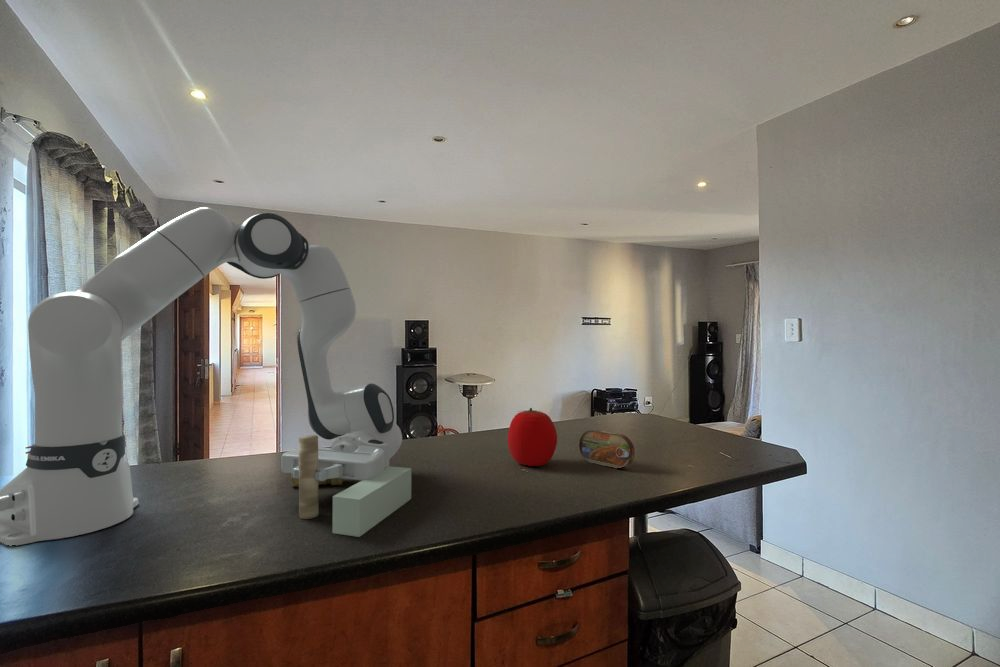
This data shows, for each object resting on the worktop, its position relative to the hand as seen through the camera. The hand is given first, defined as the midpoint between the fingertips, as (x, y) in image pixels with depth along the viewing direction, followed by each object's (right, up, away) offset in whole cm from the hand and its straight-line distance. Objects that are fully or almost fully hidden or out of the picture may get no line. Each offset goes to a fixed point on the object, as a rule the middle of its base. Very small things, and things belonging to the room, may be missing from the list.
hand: (306, 475), depth 83 cm
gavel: (-6, -8, +26) cm, 28 cm away
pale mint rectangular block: (+12, -7, +1) cm, 14 cm away
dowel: (0, -7, 0) cm, 7 cm away
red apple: (+42, -8, +34) cm, 55 cm away
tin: (+61, -8, +34) cm, 70 cm away
